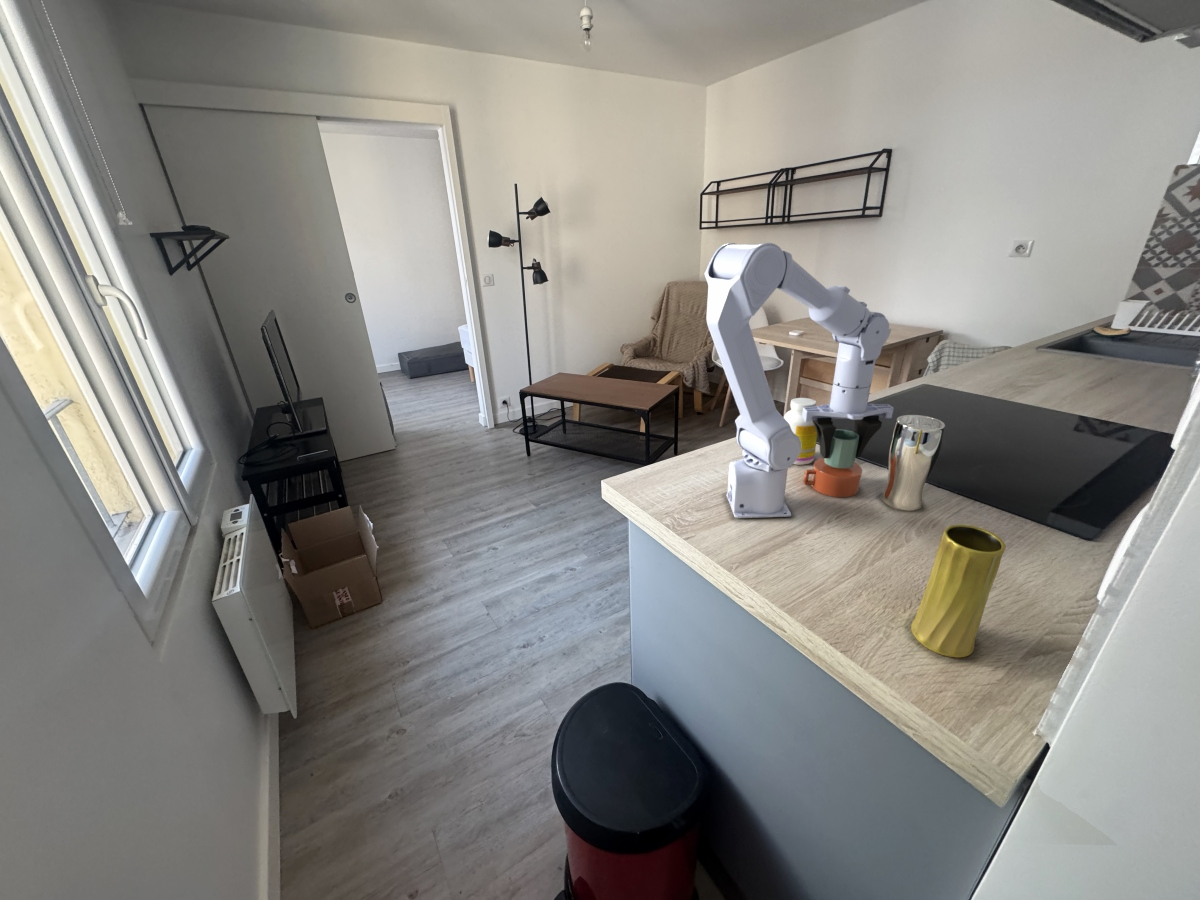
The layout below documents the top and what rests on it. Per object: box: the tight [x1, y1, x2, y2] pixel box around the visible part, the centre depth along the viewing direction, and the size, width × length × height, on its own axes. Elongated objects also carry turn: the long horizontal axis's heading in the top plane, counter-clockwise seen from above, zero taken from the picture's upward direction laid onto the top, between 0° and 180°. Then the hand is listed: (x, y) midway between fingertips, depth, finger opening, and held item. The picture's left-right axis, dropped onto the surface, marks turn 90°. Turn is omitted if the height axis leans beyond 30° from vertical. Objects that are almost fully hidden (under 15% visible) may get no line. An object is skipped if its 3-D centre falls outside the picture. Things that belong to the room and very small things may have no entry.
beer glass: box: [880, 414, 946, 512], centre depth 78 cm, size 7×7×15 cm
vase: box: [910, 524, 1006, 659], centre depth 52 cm, size 6×6×14 cm
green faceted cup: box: [824, 428, 859, 468], centre depth 84 cm, size 5×5×6 cm
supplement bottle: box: [783, 397, 818, 466], centre depth 96 cm, size 7×7×13 cm
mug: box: [802, 457, 863, 498], centre depth 87 cm, size 10×8×4 cm
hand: (839, 455), depth 85 cm, fingers closed on green faceted cup, 5 cm apart
